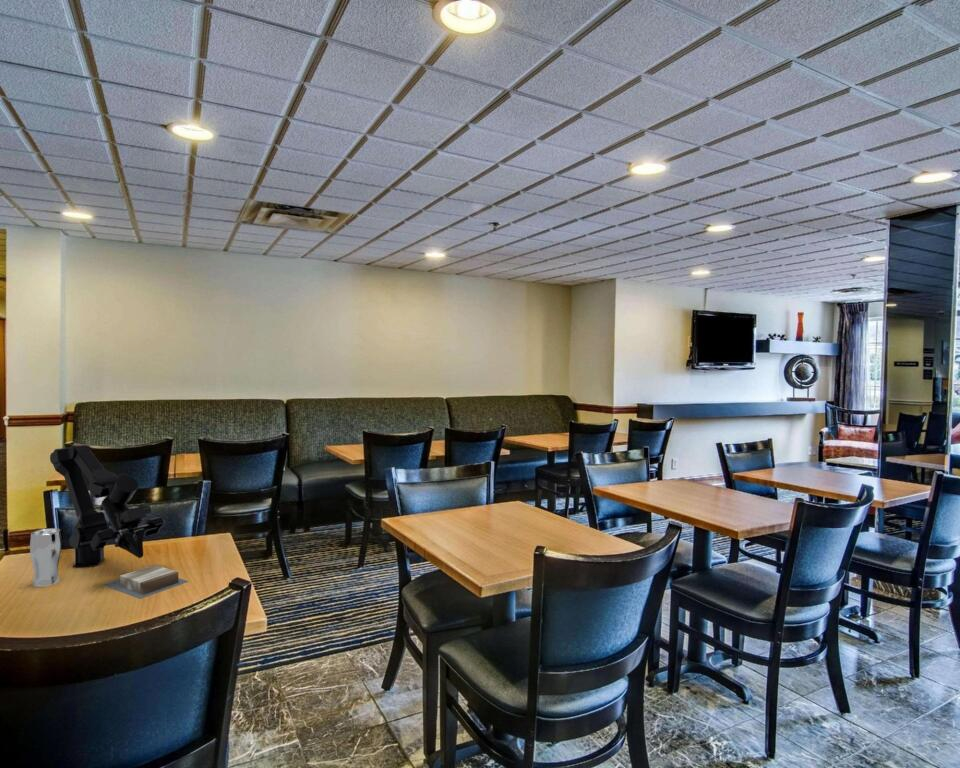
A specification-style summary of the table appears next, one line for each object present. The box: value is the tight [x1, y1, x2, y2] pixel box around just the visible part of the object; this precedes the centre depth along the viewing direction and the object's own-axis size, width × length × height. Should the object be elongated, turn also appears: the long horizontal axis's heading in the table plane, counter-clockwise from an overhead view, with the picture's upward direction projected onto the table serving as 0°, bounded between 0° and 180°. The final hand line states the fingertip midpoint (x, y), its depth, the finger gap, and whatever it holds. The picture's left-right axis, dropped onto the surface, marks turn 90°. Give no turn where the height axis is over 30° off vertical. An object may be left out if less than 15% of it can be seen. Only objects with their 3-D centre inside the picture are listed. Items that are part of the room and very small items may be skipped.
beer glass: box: [29, 527, 62, 588], centre depth 161 cm, size 7×7×15 cm
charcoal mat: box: [102, 577, 190, 600], centre depth 162 cm, size 18×14×1 cm
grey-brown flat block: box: [119, 564, 179, 595], centre depth 162 cm, size 3×10×11 cm
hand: (141, 556), depth 163 cm, fingers closed
